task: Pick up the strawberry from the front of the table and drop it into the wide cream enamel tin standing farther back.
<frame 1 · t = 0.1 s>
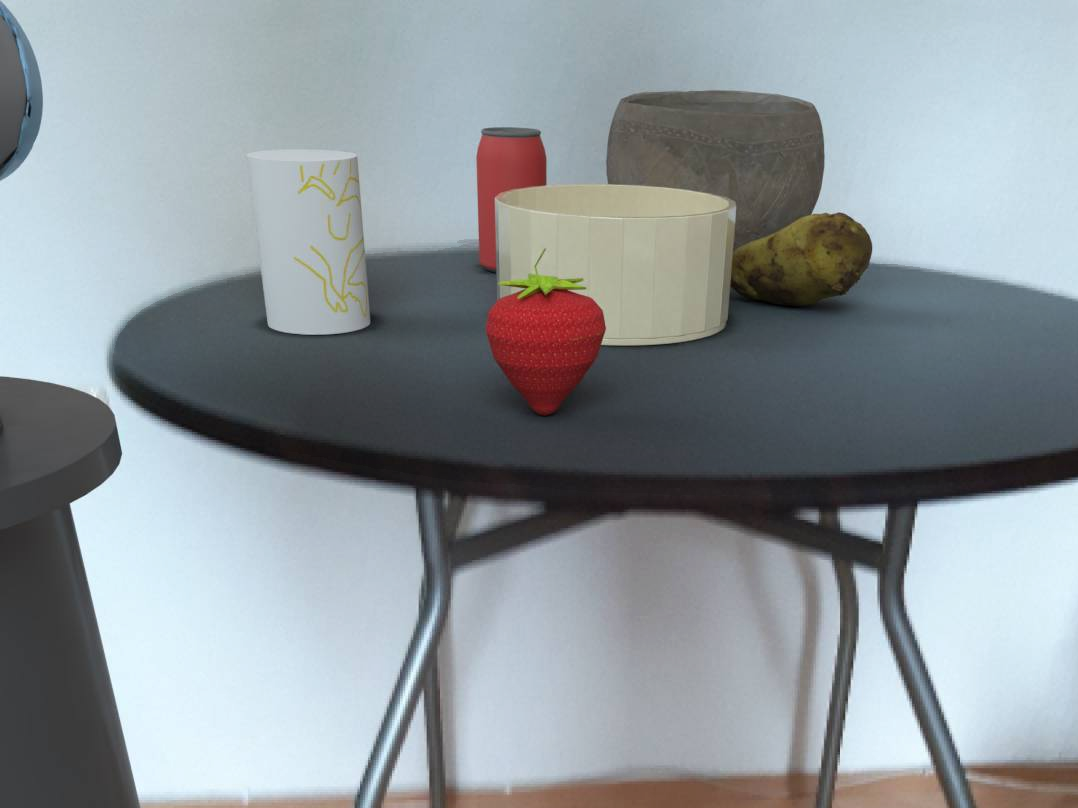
beer can: (513, 271, 117), on the table
bowl: (707, 269, 120), on the table
strawberry: (546, 418, 77), on the table
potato: (793, 310, 105), on the table
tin: (612, 318, 100), on the table
cup: (319, 325, 96), on the table
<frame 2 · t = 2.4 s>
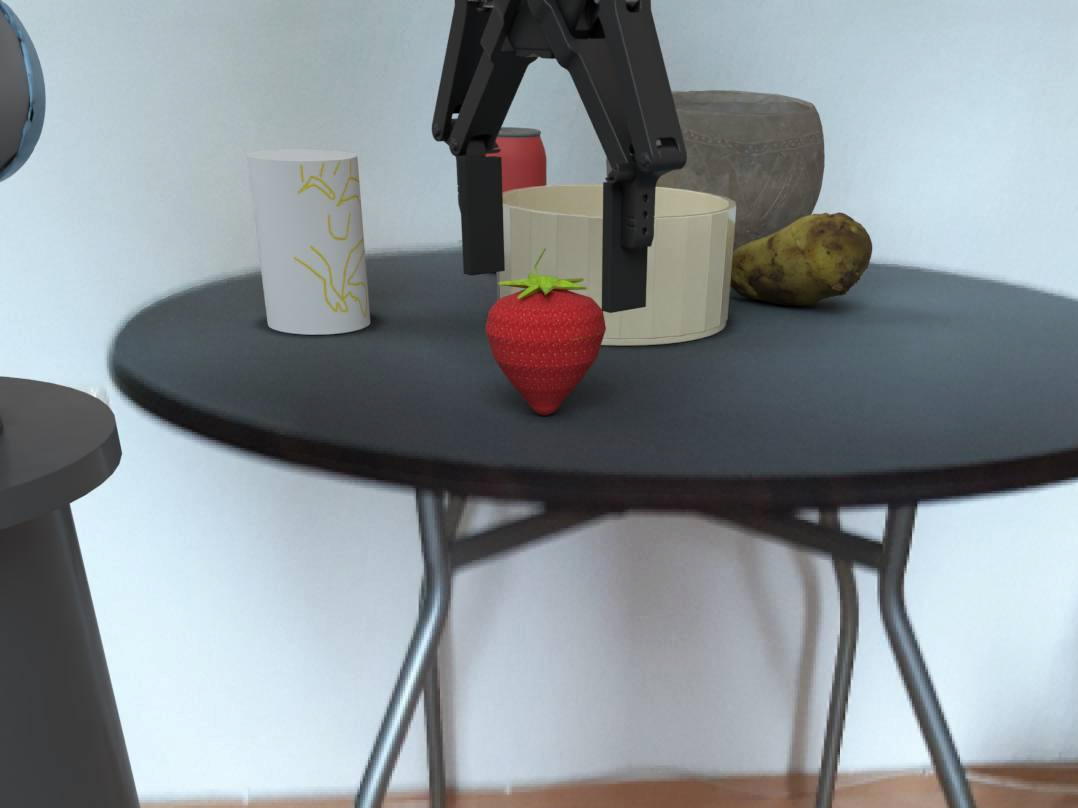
hand: (550, 290, 72), 8 cm above the table, tool pointing down, fingers open, 13 cm apart
nothing on the table moved.
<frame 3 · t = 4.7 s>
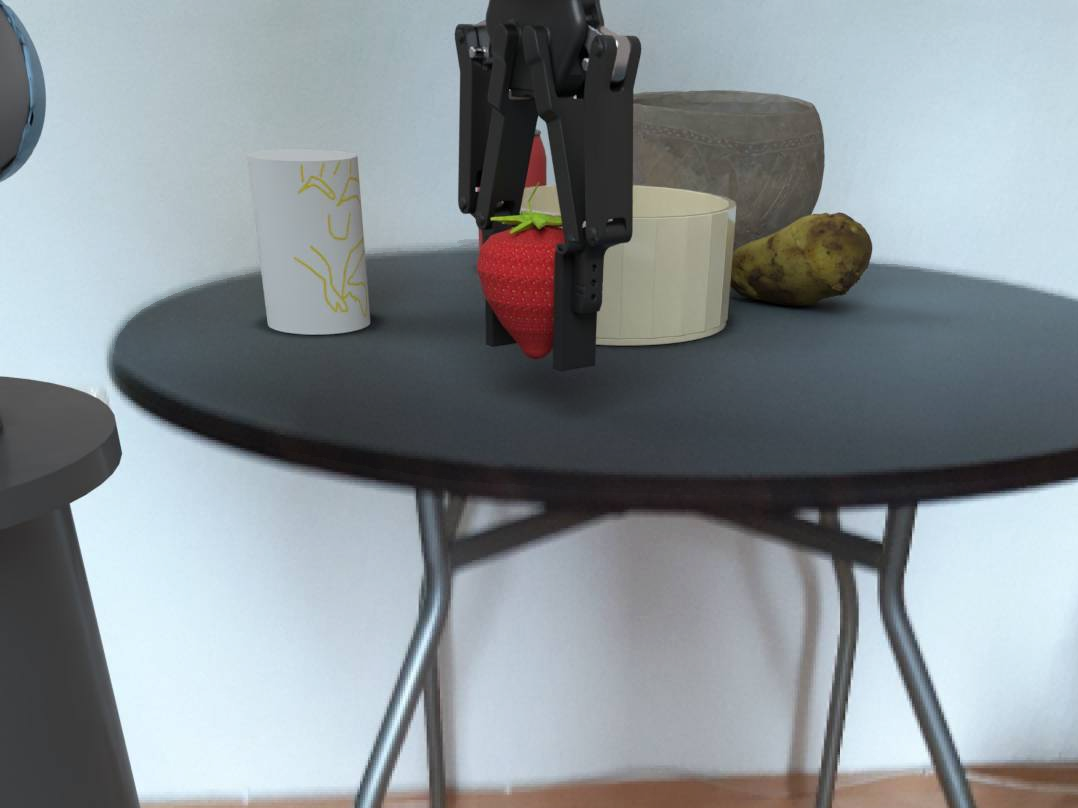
hand: (539, 354, 74), 4 cm above the table, tool pointing down, fingers closed on strawberry, 6 cm apart
strawberry: (537, 362, 75), point 3 cm above the table, touching gripper
everything else where it was.
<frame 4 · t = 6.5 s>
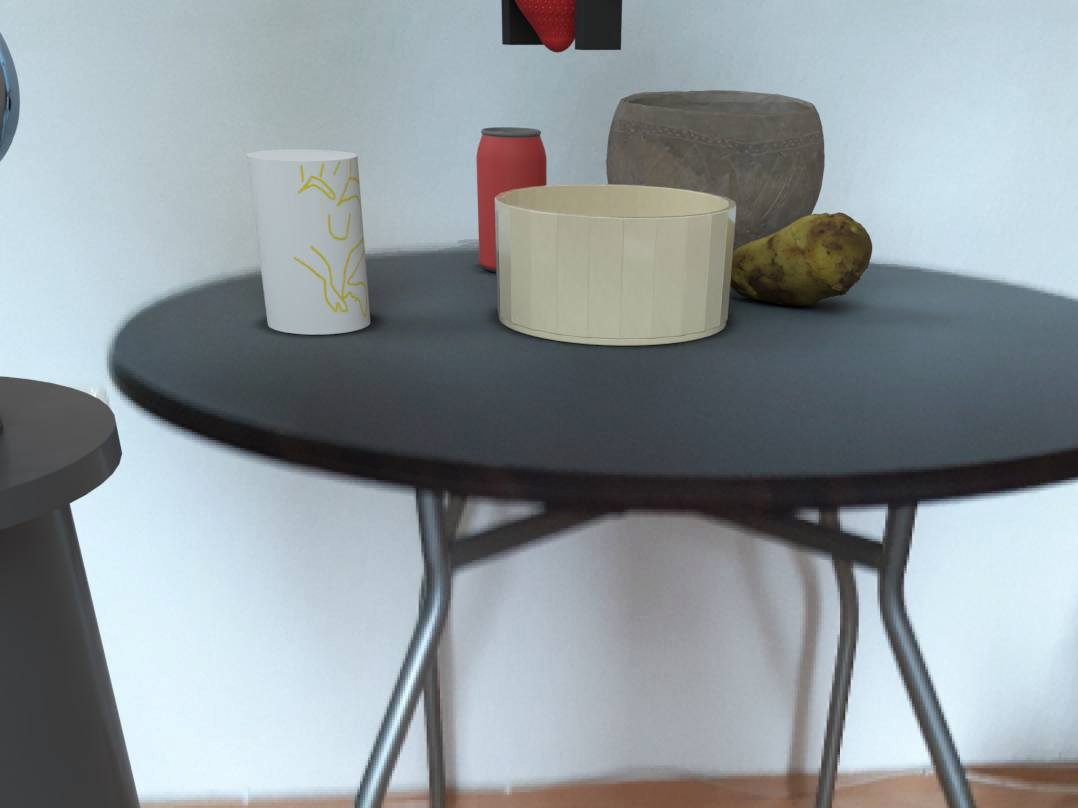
hand: (560, 46, 68), 20 cm above the table, tool pointing down, fingers closed on strawberry, 6 cm apart
strawberry: (558, 56, 68), point 19 cm above the table, touching gripper
everything else where it was.
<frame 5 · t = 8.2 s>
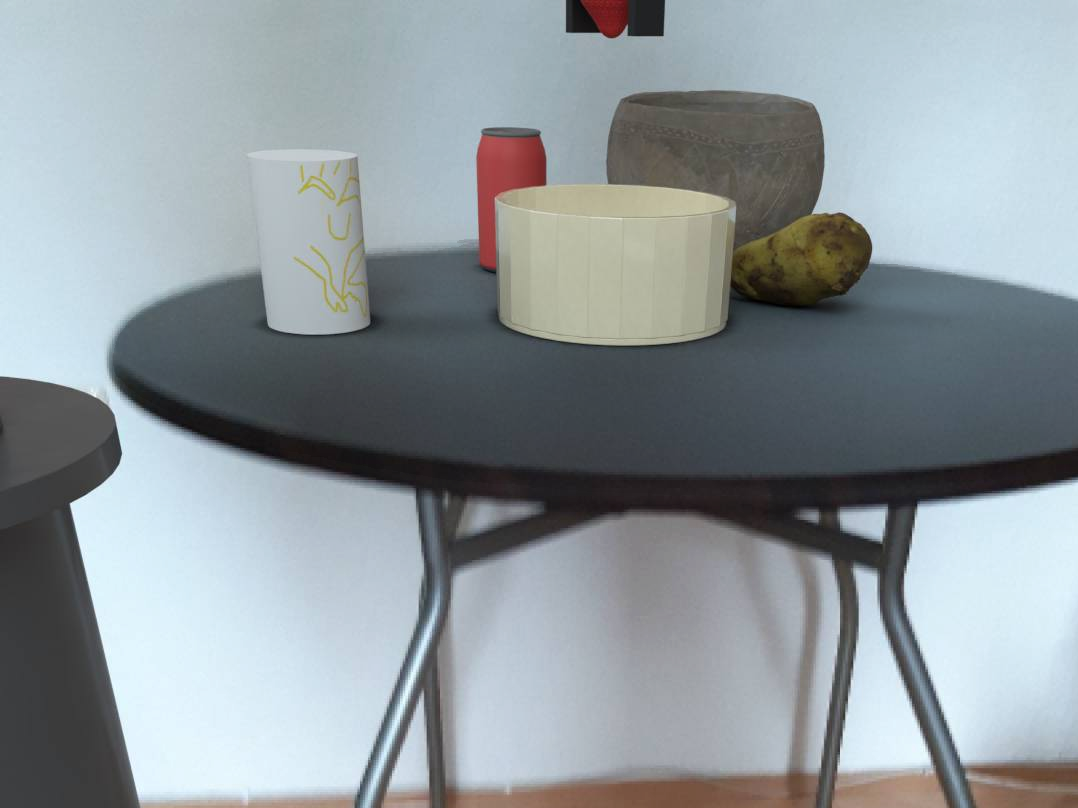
hand: (613, 33, 85), 20 cm above the table, tool pointing down, fingers closed on strawberry, 6 cm apart
strawberry: (612, 42, 85), point 20 cm above the table, touching gripper
everything else where it was.
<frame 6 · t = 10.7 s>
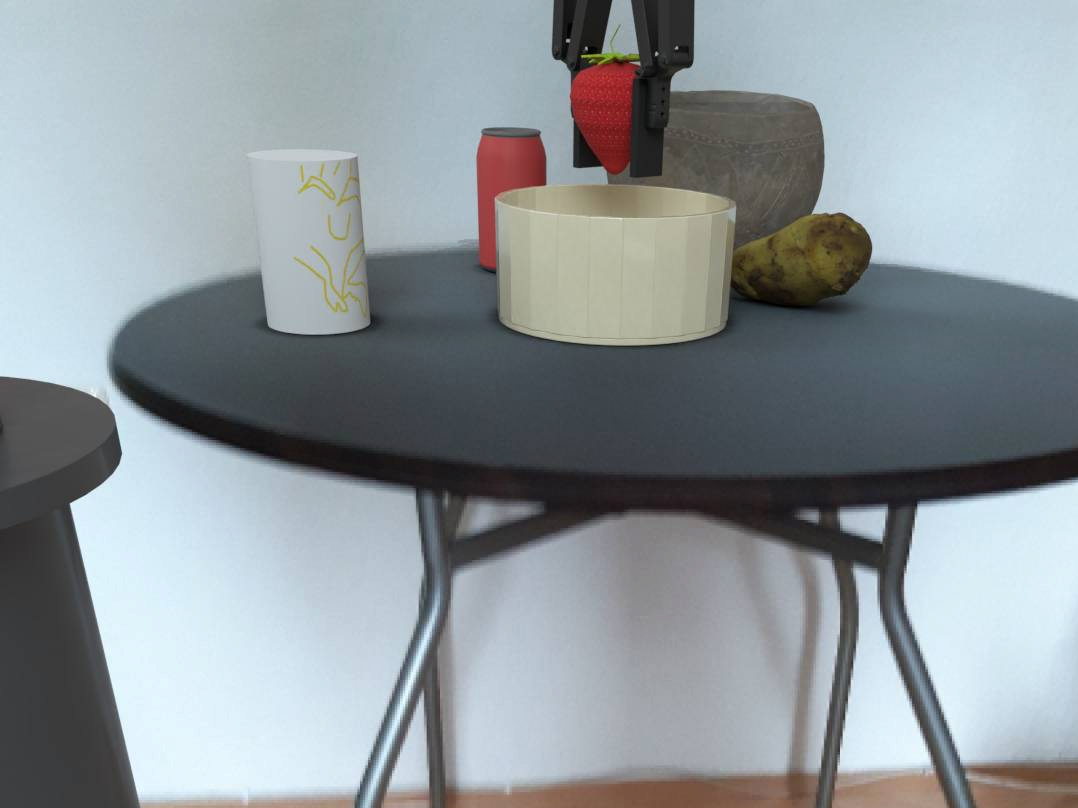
hand: (616, 170, 94), 11 cm above the table, tool pointing down, fingers closed on strawberry, 6 cm apart
strawberry: (615, 177, 94), point 11 cm above the table, touching gripper
everything else where it was.
when the fingers open (8 cm above the table, at t = 12.0 s): strawberry drops 6 cm, resting on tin.
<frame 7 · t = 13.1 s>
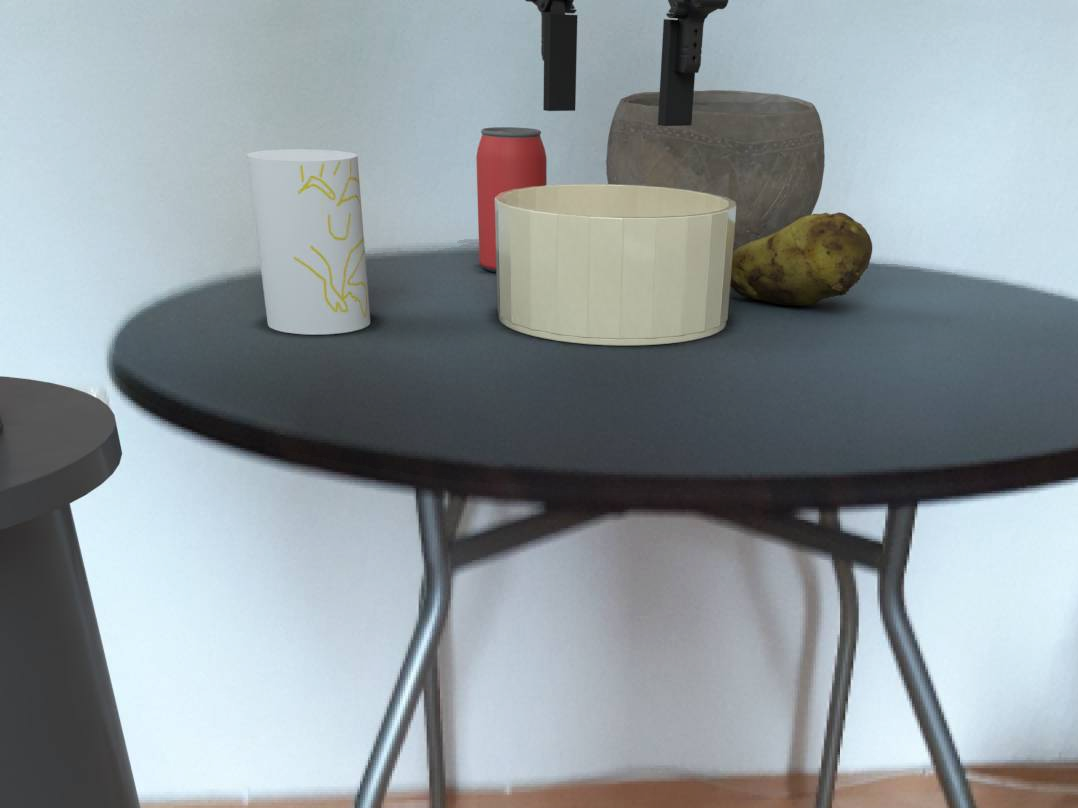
hand: (614, 118, 92), 15 cm above the table, tool pointing down, fingers open, 13 cm apart
strawberry: (610, 298, 100), point 2 cm above the table, touching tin
everything else where it was.
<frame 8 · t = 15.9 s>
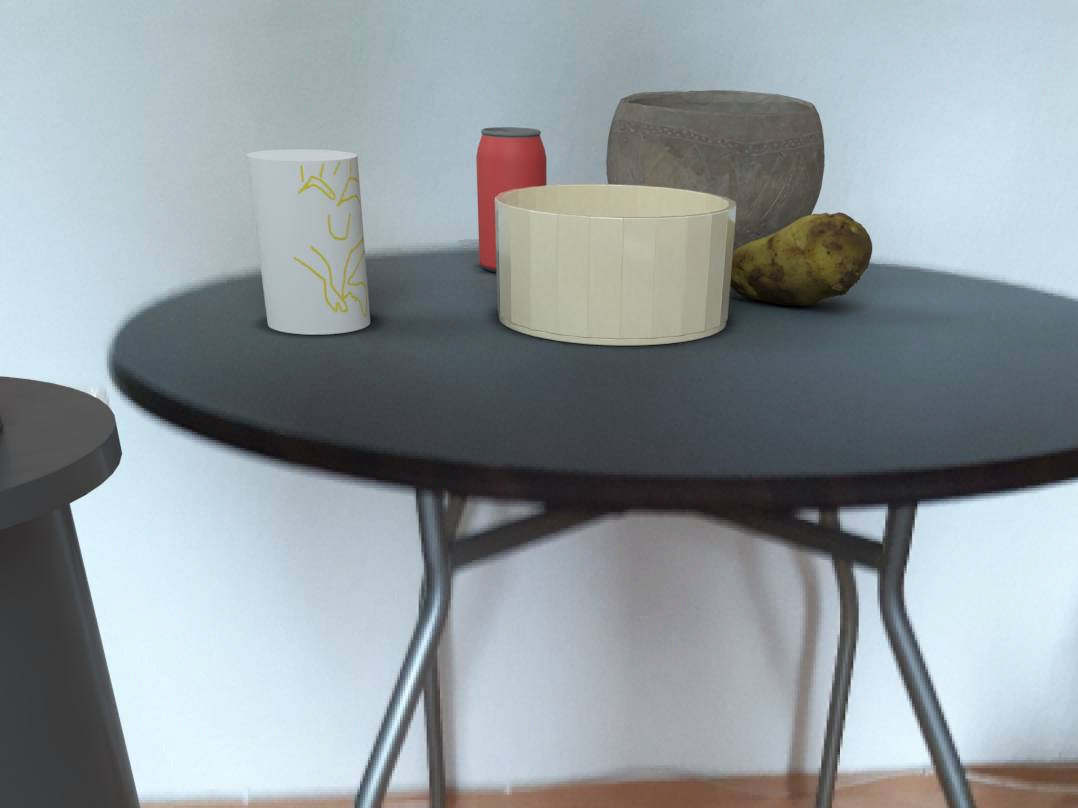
nothing on the table moved.
at the end: strawberry inside the target area in the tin (0.3 cm from its centre), point 1.6 cm above the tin's base; the gripper is holding nothing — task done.
